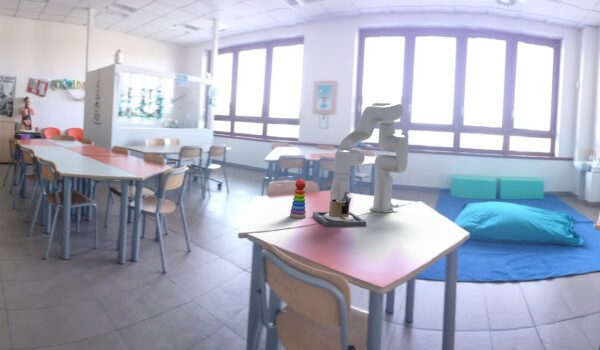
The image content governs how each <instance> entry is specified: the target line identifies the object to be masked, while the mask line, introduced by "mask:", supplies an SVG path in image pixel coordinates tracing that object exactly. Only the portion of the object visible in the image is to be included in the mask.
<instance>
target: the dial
mask: <svg viewBox="0 0 600 350" xmlns="http://www.w3.org/2000/svg"><path fill="white" fill-rule="evenodd" d="M344 202H346V201H344ZM342 206H343V204H342V201H338V200H337V201H331V200H330V201H329V207H328V208H329V211H328V212H329V213H327V214H325V215H324V218H325V219H327V220H331V221H352V220H353V216H351V215H349V212H350V205H349V206H348V214H342Z"/></svg>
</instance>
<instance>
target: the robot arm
mask: <svg viewBox="0 0 600 350" xmlns="http://www.w3.org/2000/svg"><path fill="white" fill-rule="evenodd" d="M403 113H404V107H403V105H402V103H400V102H393V101H392V102H388V101H385V102H384V101H383V102H382V101H381V102H380V101H379V102H374V103H373V104H371V105H369V106H366V107H365V108H364V110H363V112H362V113H361V116H360V119H359V121H358V123H357V124H356V127H355V129H354V130H353V131H351V132H349V134H347V135H346V136H345V137H344V138H343V139H342V140H341V141H340V142H339V145H338V148H337V150H336V151H335V154H334V166H333V179H332V181H331V187H330V191H329V194H330V201H342V204H343V206H342V214H348V206H349V207H350V205H351V201H352V197H351V195H350V174H351V173H350V172H351V166H353V167H358V166H361V165H362V164H364V162H365V154H364V153H363V152H362V151H360V150H357V149H351V148H352V147H353V146H354V145H356V144H358V143H361V142H364V141H367V140H368V139H370V138H371V137H372V135H373V133H374V130H375V128H376V125H377V124H378V148H379V150H380V151H382V152H387V153H380V154H378V155H377V156H376V157H375V158H374V159H375V160H374V166H375V167H374V168H375V179H374V189H373V190H374V195H373V204H372V206H370V207H369V208H370V211H373V212H375V213H385V214H387V213H389V214H390V213H393V212H394V208H399V207H400V205H399V204H398V203H393V202H392V196H393V195H392V193H393V184H394V183H393V182H394V179H393V175H392V173H395V174H403V173H405V172H406V170H407V168H408V158H409V157H408V156H409V155H408V154H409V141H408V139H407V137H406V136H405V135H401V134H396V124H395V121H396V120H399V119H400V118H401V117H402V116H403ZM388 153H390V154H388ZM391 153H394V154H391ZM344 201H346V202H344Z"/></svg>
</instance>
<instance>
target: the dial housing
mask: <svg viewBox="0 0 600 350" xmlns="http://www.w3.org/2000/svg"><path fill="white" fill-rule="evenodd" d="M327 213H329V211H312V217H313V218H314V219H316V220H317V222H319V223H320V224H321V225H323V226H324V227H325V228H333V227H334V228H335V227H336V228H338V227H340V228H341V227H342V228H343V227H344V228H345V227H348V228H349V227H366V226H367V220H365V219H363V218H361V217H359V216H358V215H356V214H354V213H353V212H352V211H349V215H351V216H353V220H352V221H331V220H327V219H325V218H324V215H325V214H327Z"/></svg>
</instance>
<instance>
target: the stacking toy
mask: <svg viewBox="0 0 600 350" xmlns="http://www.w3.org/2000/svg"><path fill="white" fill-rule="evenodd" d="M294 185H295V189H294V193H293V200H292V205H291V208H290V213H289V216H290V217H291V218H294V219H305V218H306V217H307V216H306V212H307V210H306V198H305V197H306V190H305V188H306V181H305V180H304V179H301V178H299V179H297V180H296V181H295V184H294Z"/></svg>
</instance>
